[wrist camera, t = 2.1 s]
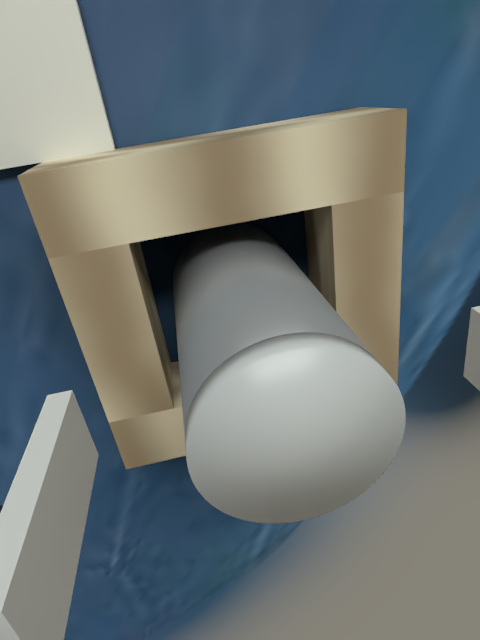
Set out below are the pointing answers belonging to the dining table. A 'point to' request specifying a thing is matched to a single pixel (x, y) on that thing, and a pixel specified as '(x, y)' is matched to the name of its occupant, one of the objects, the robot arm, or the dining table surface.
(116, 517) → the dining table surface
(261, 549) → the dining table surface
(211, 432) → the grey domed cylinder
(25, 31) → the pad
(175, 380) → the housing
